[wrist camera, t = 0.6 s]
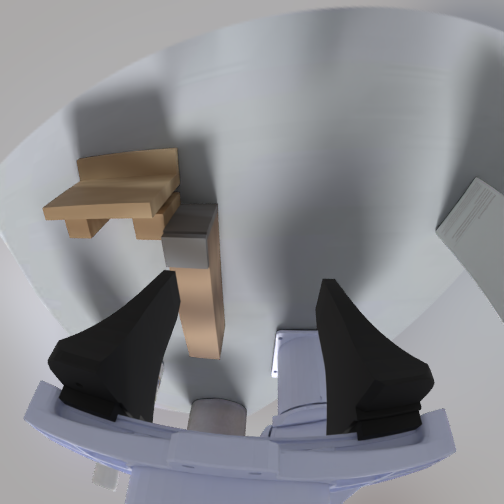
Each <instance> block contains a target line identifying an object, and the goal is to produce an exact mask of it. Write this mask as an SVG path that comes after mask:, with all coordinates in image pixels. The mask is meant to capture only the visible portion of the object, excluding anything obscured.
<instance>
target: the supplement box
mask: <svg viewBox="0 0 504 504" xmlns="http://www.w3.org/2000/svg"><path fill="white" fill-rule="evenodd" d="M436 235H437V236H438V237H439V238H440V239H441V241H442V242H443V243H444V244H445V245H446V246H447V248H448V249H449V250H450V251H451V252H452V253H453V255H454V256H455V257H456V258H457V260H458V261H459V262H460V263H461V265H462V266H463V267H464V268H465V270H466V271H467V272H468V273H469V275H470V276H471V277H472V279H473V280H474V281H475V283H476V284H477V285H478V287H479V288H480V290H481V291H482V293H483V294H484V295H485V297H486V298H487V300H488V301H489V303H490V304H491V306H492V308H493V309H494V310H495V312H496V314H497V315H498V317H499V318H500V320H501V322H502V323H503V325H504V195H503V194H501V193H500V192H498V191H497V190H496V189H494V188H493V187H491V186H490V185H488V184H487V183H485V182H484V181H482V180H481V179H479V178H478V177H476V178H475V179H474V180H473V182H472V183H471V185H470V186H469V188H468V189H467V190H466V192H465V193H464V195H463V196H462V197H461V199H460V200H459V201H458V203H457V204H456V205H455V207H454V208H453V209H452V211H451V212H450V213H449V215H448V216H447V217H446V219H445V220H444V221H443V222H442V224H441V225H440V226H439V228H438V229H437V230H436Z"/></svg>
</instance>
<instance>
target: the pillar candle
mask: <svg viewBox="0 0 504 504" xmlns="http://www.w3.org/2000/svg"><path fill="white" fill-rule="evenodd" d="M246 416H247V411H246V409H245V408H244V407H243V406H242V405H240V404H238V403H236V402H232V401H230V400H224V399H199V400H196V401H194V402H193V403H192V407H191V411H190V416H189V421H188V427H187V430H192V431H199V432H207V433H215V434H225V435H236V436H245V431H246V430H245V429H246Z"/></svg>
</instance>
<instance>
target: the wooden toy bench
mask: <svg viewBox="0 0 504 504" xmlns="http://www.w3.org/2000/svg"><path fill="white" fill-rule="evenodd" d="M77 166H78V171H79V177H80V182H78V183H77V184H75V185H74V186H72V187H71V188H69V189H68V190H66V191H65V192H64V193H62V194H61V195H59V196H58V197H57V198H55V199H54V200H52V201H51V202H50V203H48V204H47V205H46V206H44V207H43V212H44V215H45V219H46V220H65V223H66V226H67V230H68V233H69V236H70V238H92V237H93V236H94V235H95V234H96V233H97V232H98V231H99V230H100V229H101V228H102V227H103V226H104V225H105V224H106V223H107V222H108V221H109V220H110V219H111V218H132V219H133V224H134V229H135V234H136V238H137V239H141V240H161V236H162V235H163V230H164V228H165V227H166V225H167V224H168V222H169V221H170V219H171V218H172V216H173V215H174V213H175V212H176V210H177V209H178V207H179V206H180V204H181V201H180V192H174V190H175V189H176V188H177V187H178V186H179V185H180V178H179V166H178V153H177V148H167V149H153V150H142V151H132V152H123V153H114V154H107V155H99V156H93V157H86V158H80V159H78V160H77Z"/></svg>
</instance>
